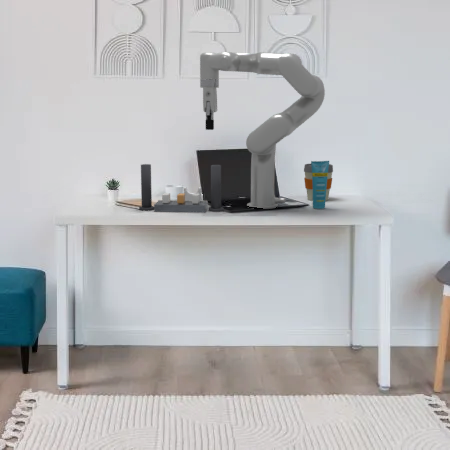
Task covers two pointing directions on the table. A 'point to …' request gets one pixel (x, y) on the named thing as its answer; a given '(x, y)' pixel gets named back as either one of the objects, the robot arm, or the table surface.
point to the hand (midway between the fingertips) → (209, 129)
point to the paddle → (196, 198)
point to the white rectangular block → (166, 198)
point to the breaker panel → (180, 206)
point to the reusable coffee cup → (309, 181)
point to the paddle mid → (181, 198)
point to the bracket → (189, 195)
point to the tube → (319, 183)
